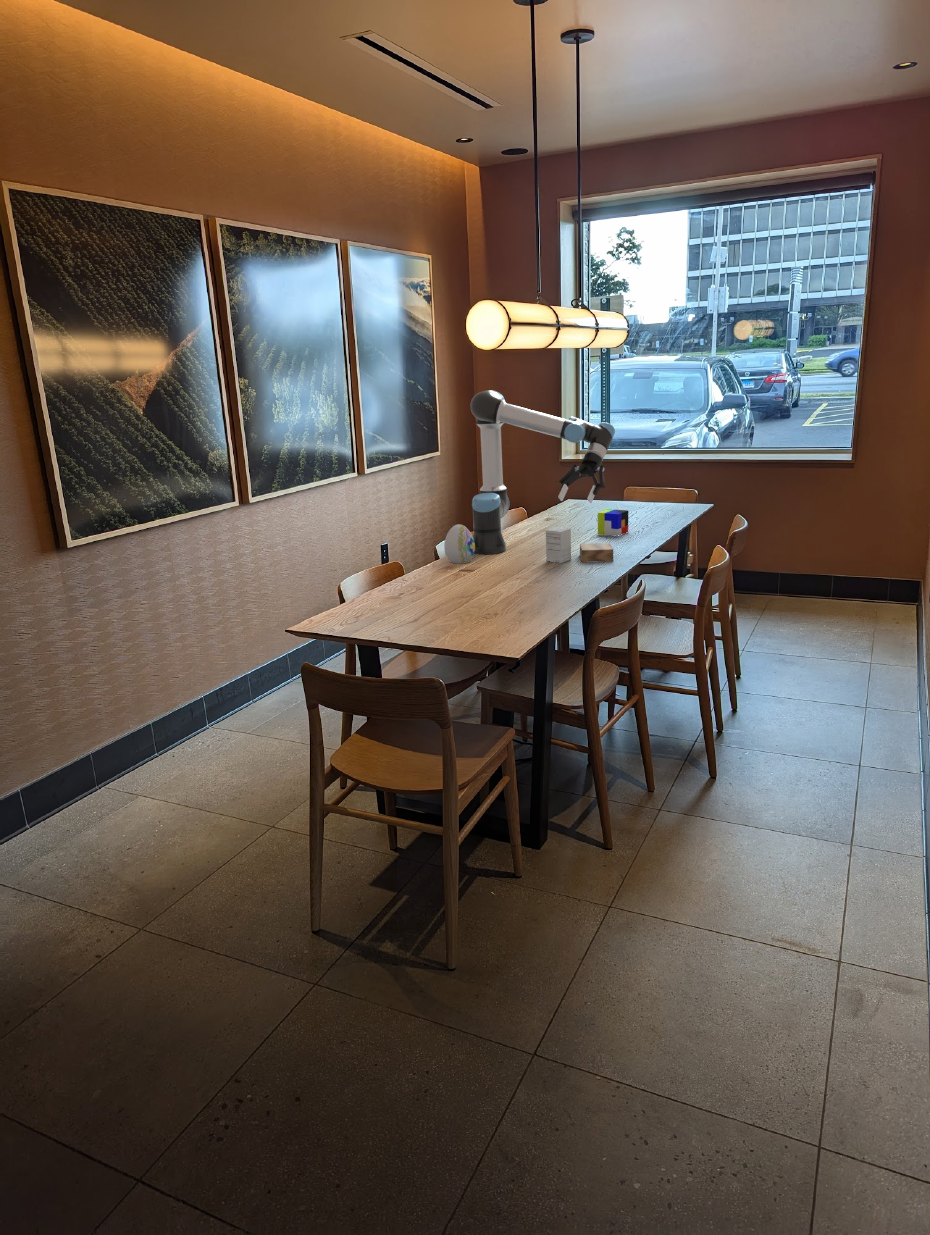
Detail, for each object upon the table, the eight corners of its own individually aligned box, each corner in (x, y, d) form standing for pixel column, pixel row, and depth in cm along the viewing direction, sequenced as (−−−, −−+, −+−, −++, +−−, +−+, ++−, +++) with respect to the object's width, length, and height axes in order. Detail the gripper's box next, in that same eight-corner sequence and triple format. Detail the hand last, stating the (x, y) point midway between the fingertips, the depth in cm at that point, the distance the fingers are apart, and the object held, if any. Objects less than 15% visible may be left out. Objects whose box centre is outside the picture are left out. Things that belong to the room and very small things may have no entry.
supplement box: (555, 557, 336) (555, 526, 332) (571, 559, 331) (571, 528, 327) (545, 561, 330) (545, 529, 326) (561, 563, 326) (561, 531, 322)
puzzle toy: (617, 536, 369) (618, 514, 367) (597, 534, 375) (597, 512, 372) (628, 532, 377) (628, 510, 374) (608, 530, 383) (608, 509, 380)
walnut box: (582, 562, 327) (582, 550, 325) (579, 556, 338) (579, 543, 337) (613, 561, 326) (613, 549, 324) (609, 555, 337) (609, 542, 336)
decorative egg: (469, 565, 329) (468, 527, 325) (440, 564, 333) (438, 527, 329) (479, 558, 340) (478, 521, 336) (451, 557, 344) (449, 521, 340)
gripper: (624, 463, 333) (605, 507, 326) (571, 462, 349) (552, 503, 342) (617, 451, 328) (598, 495, 321) (564, 450, 343) (544, 492, 337)
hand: (574, 500), depth 332 cm, fingers open, 13 cm apart
